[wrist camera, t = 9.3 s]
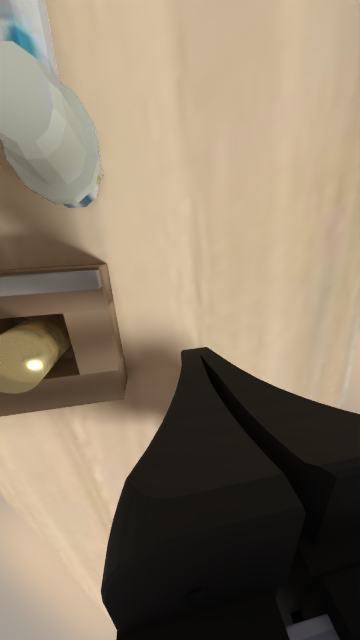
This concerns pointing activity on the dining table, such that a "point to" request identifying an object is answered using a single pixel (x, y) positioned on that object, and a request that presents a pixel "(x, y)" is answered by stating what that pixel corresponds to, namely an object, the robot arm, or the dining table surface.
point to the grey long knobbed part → (43, 112)
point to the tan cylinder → (31, 351)
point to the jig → (84, 331)
